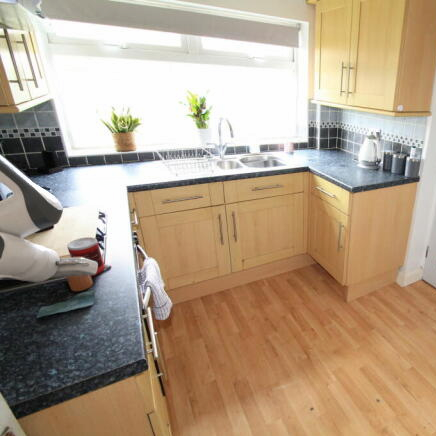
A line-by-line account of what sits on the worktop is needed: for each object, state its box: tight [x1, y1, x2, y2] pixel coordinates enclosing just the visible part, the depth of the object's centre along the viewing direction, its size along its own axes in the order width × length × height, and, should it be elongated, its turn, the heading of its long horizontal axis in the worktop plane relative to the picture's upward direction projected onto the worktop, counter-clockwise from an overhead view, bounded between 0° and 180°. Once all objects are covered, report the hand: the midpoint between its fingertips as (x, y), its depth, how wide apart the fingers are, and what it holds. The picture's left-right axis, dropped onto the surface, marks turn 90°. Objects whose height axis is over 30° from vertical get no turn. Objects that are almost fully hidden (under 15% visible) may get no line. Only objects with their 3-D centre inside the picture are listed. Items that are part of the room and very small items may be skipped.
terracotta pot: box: [65, 256, 94, 292], centre depth 97 cm, size 6×6×9 cm
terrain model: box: [35, 289, 97, 319], centre depth 89 cm, size 13×8×2 cm, turn 122°
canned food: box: [66, 236, 106, 278], centre depth 104 cm, size 8×8×11 cm
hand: (69, 274), depth 94 cm, fingers open, 8 cm apart
